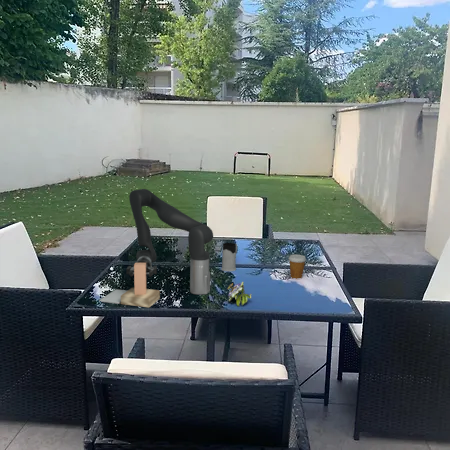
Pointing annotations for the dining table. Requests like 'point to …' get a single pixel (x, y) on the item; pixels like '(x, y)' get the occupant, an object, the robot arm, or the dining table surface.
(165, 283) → the dining table surface
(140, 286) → the tall tan block
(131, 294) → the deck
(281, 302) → the dining table surface
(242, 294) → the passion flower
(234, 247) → the glass holder
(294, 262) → the disposable coffee cup
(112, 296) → the mat
